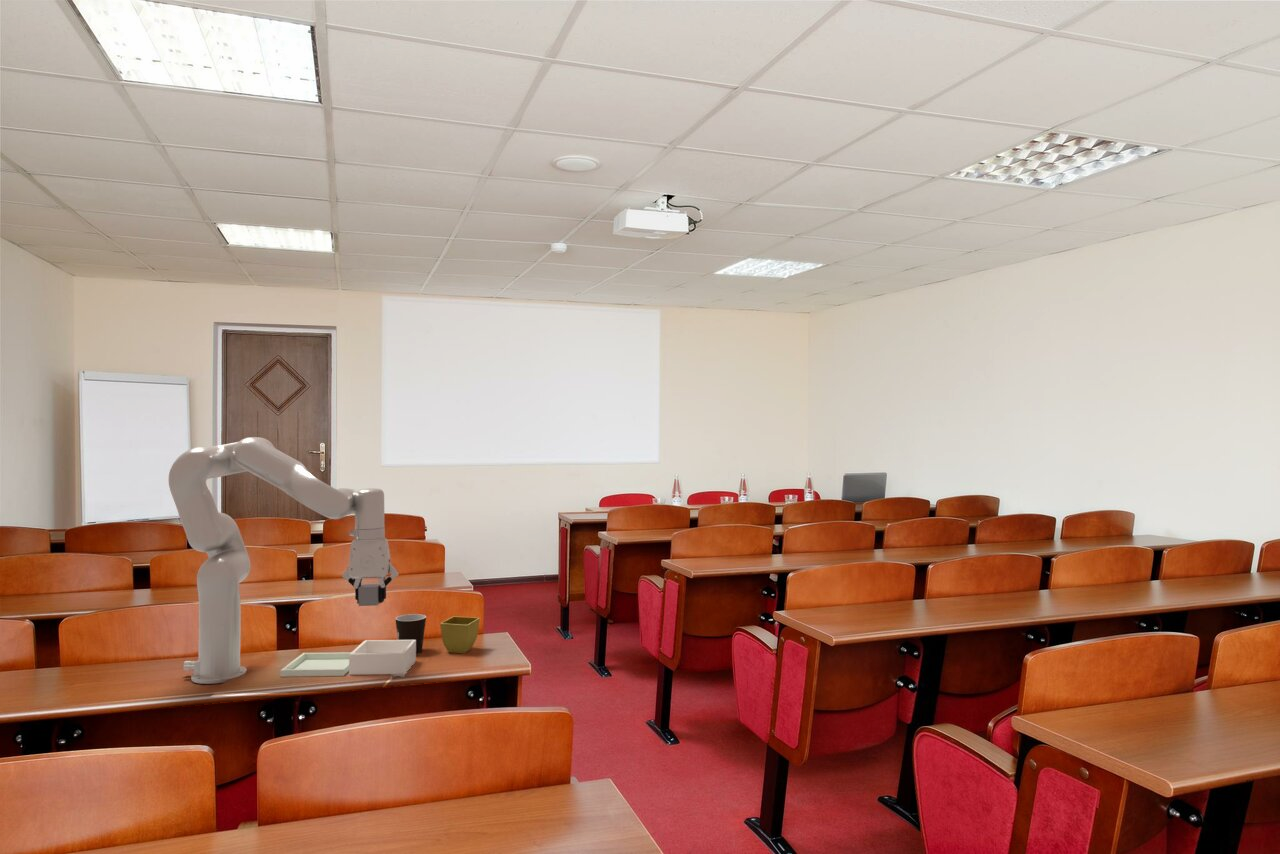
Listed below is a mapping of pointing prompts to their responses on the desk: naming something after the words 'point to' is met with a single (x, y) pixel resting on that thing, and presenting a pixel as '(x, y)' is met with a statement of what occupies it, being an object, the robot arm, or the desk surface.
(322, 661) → the tray
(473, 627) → the flower pot
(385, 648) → the bin
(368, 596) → the stone cube
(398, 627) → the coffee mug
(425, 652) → the desk surface
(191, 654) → the desk surface
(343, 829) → the desk surface
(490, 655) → the desk surface
